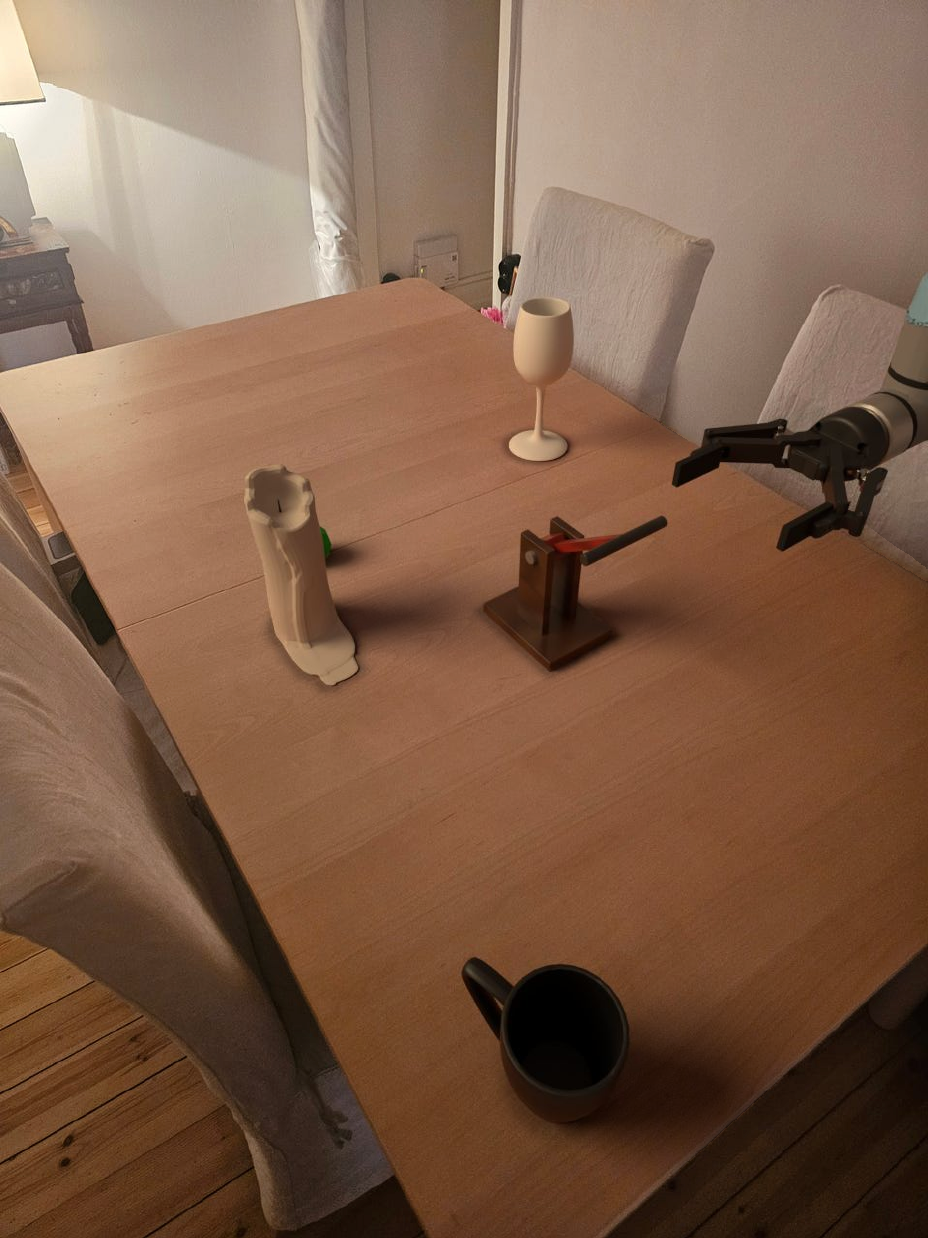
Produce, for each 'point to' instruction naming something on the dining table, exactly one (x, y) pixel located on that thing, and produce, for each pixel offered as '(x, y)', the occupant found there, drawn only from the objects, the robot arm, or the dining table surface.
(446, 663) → the dining table surface
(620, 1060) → the mug
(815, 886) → the dining table surface
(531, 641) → the rod stand
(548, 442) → the wineglass
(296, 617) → the candle
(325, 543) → the polyhedron
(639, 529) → the red lever
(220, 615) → the dining table surface
